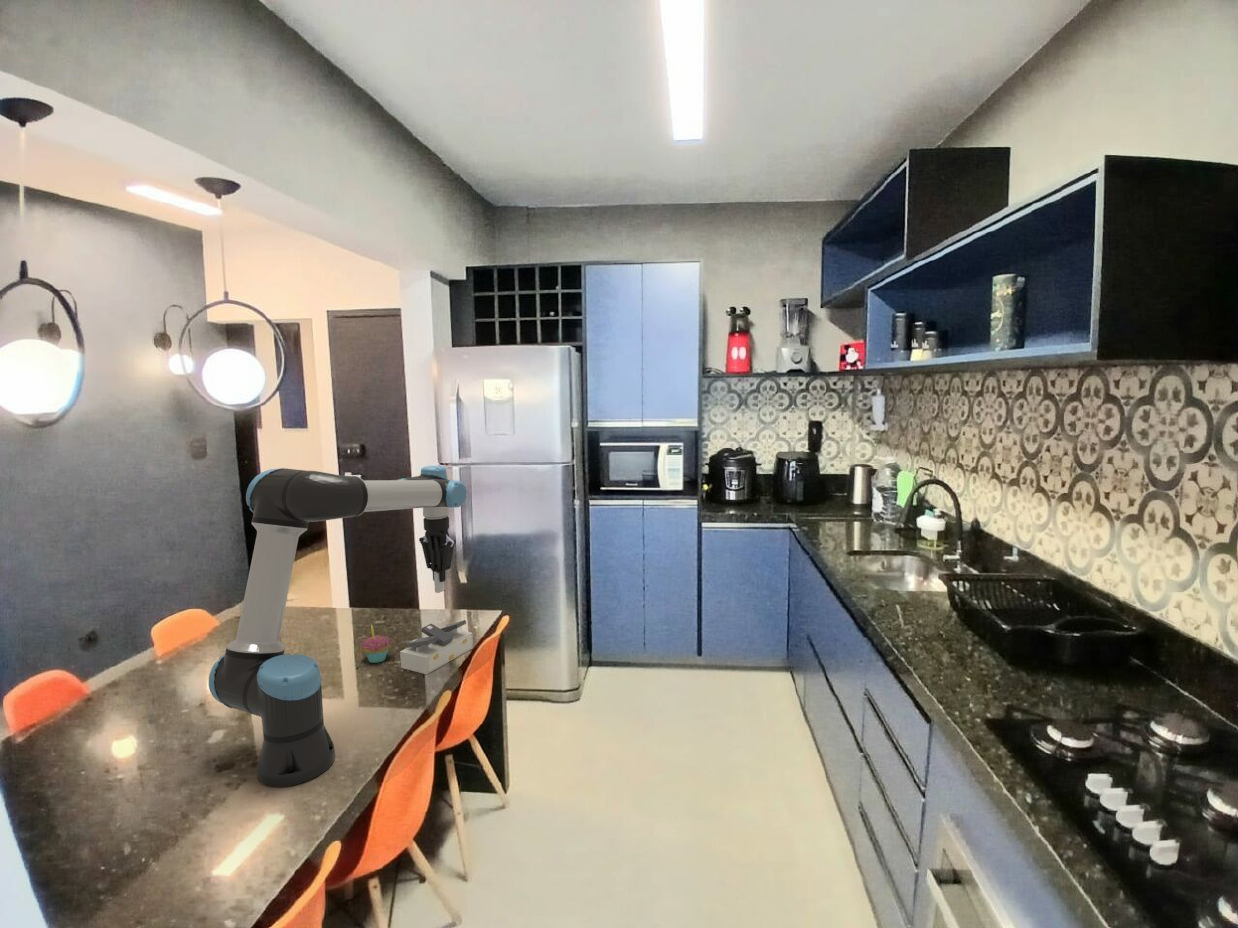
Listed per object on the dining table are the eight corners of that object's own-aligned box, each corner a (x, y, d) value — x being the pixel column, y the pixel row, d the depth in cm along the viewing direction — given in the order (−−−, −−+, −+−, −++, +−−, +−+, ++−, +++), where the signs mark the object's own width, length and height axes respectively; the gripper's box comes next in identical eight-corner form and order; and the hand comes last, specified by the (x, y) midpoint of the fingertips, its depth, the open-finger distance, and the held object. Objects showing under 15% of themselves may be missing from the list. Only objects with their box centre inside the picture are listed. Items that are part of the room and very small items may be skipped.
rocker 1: (428, 644, 180) (427, 640, 180) (406, 647, 184) (405, 643, 184) (438, 639, 184) (437, 635, 184) (416, 642, 188) (415, 638, 188)
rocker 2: (443, 645, 186) (443, 641, 186) (421, 631, 190) (421, 627, 189) (452, 640, 190) (453, 636, 189) (430, 626, 193) (431, 623, 193)
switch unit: (427, 674, 179) (426, 653, 179) (401, 667, 184) (399, 646, 183) (473, 648, 197) (473, 628, 196) (448, 642, 202) (447, 623, 201)
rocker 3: (457, 627, 191) (456, 623, 191) (437, 634, 195) (436, 630, 195) (466, 623, 195) (465, 619, 195) (446, 629, 199) (445, 625, 199)
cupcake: (385, 665, 186) (382, 626, 184) (356, 665, 186) (354, 626, 184) (396, 653, 194) (393, 615, 193) (368, 653, 194) (366, 616, 193)
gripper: (461, 516, 193) (464, 590, 196) (429, 512, 199) (432, 585, 202) (443, 520, 186) (447, 597, 189) (411, 517, 192) (415, 591, 195)
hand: (439, 591), depth 195 cm, fingers closed
